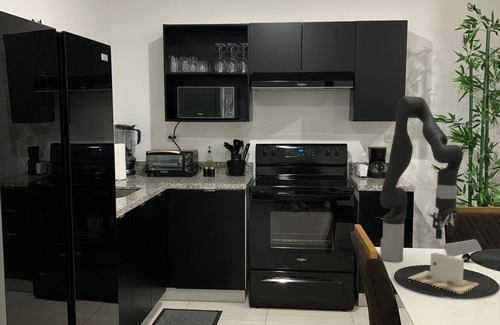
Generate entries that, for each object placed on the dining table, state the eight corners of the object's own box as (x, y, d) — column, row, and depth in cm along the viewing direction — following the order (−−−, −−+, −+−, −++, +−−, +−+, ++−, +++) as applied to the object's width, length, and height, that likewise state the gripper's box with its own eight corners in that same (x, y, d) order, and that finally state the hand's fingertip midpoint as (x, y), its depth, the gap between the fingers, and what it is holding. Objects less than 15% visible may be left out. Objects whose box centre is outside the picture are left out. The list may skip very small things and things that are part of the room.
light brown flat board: (408, 279, 202) (408, 273, 201) (426, 272, 211) (426, 267, 211) (461, 294, 185) (461, 287, 185) (478, 286, 194) (478, 279, 194)
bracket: (450, 265, 230) (484, 258, 223) (443, 245, 231) (476, 236, 224) (451, 263, 234) (485, 256, 226) (444, 243, 235) (477, 235, 228)
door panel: (428, 278, 200) (429, 254, 199) (433, 276, 202) (434, 252, 202) (458, 286, 191) (459, 260, 190) (462, 284, 193) (463, 258, 192)
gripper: (446, 193, 202) (444, 232, 204) (427, 196, 193) (425, 238, 195) (464, 195, 197) (462, 236, 198) (446, 199, 187) (444, 241, 189)
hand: (444, 237), depth 196 cm, fingers open, 8 cm apart
